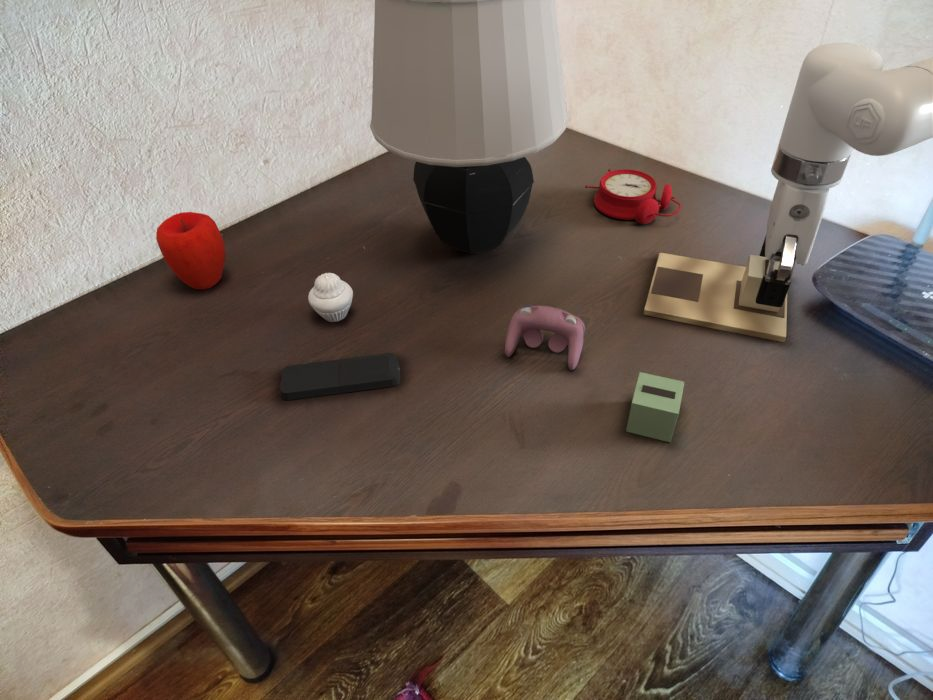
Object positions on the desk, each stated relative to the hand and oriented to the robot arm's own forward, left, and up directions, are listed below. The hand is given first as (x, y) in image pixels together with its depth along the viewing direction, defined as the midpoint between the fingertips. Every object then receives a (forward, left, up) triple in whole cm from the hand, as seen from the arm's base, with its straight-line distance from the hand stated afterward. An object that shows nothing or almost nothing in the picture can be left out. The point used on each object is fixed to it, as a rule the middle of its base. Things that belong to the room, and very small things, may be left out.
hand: (769, 282), depth 85 cm
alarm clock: (+21, -20, -4) cm, 30 cm away
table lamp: (+43, -2, -4) cm, 43 cm away
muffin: (+56, +20, -4) cm, 59 cm away
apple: (+79, +19, -4) cm, 81 cm away
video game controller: (+26, +18, -4) cm, 32 cm away
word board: (+6, 0, -4) cm, 7 cm away
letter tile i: (+11, +25, -4) cm, 28 cm away
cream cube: (+1, 0, -3) cm, 3 cm away
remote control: (+49, +31, -4) cm, 58 cm away
